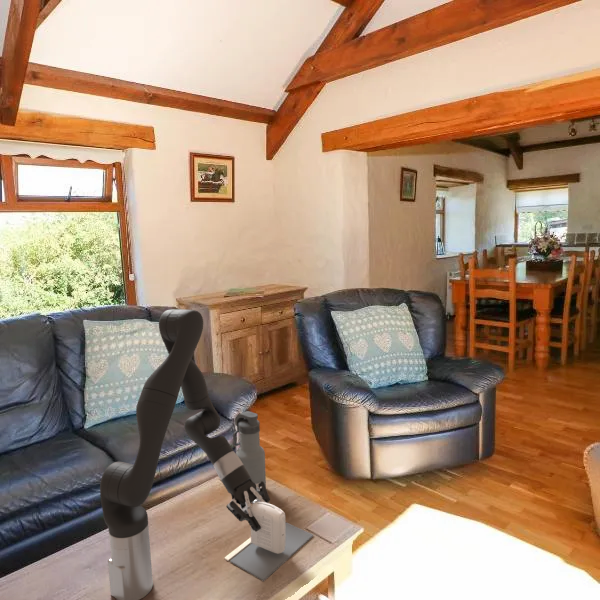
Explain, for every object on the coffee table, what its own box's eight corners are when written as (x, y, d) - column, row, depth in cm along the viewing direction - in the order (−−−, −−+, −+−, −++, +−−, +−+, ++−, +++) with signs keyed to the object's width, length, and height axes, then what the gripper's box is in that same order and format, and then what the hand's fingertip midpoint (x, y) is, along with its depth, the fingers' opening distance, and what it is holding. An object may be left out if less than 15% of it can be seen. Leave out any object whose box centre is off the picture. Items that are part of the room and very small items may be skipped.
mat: (263, 581, 122) (263, 579, 122) (224, 559, 131) (224, 557, 131) (313, 536, 140) (313, 534, 140) (275, 518, 148) (275, 517, 148)
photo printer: (288, 547, 132) (287, 506, 130) (279, 556, 129) (279, 514, 127) (257, 535, 137) (256, 495, 135) (248, 544, 134) (247, 503, 132)
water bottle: (230, 492, 163) (227, 414, 159) (251, 480, 171) (248, 405, 166) (251, 503, 157) (248, 422, 152) (271, 490, 164) (269, 412, 160)
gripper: (219, 476, 130) (254, 533, 125) (255, 455, 141) (288, 507, 136) (207, 488, 134) (240, 544, 129) (242, 467, 145) (274, 517, 140)
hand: (264, 524), depth 133 cm, fingers closed on photo printer, 4 cm apart
